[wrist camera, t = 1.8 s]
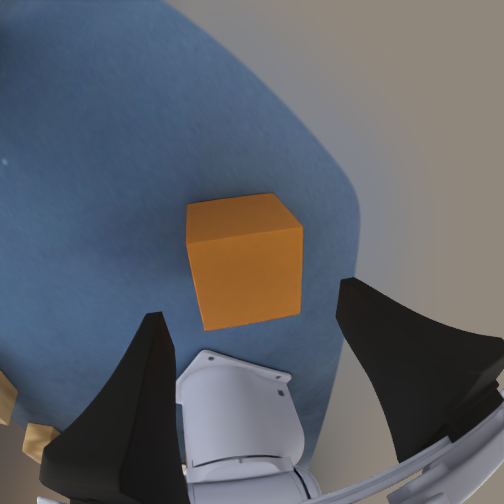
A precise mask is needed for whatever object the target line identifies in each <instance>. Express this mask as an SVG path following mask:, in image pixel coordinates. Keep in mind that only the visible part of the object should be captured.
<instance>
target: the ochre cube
mask: <svg viewBox="0 0 504 504" xmlns="http://www.w3.org/2000/svg"><path fill="white" fill-rule="evenodd" d="M186 246H187V251H188V256H189V261H190V266H191V271H192V276H193V281H194V285H195V290H196V295H197V299H198V304H199V308H200V312H201V317H202V321H203V325H204V329H205V331H210V330H217V329H223V328H229V327H235V326H240V325H246V324H252V323H257V322H262V321H268V320H273V319H278V318H283V317H288V316H292V315H297V314H300V308H301V287H302V261H303V226H302V225H301V224H300V222H299V221H298V220H297V219H296V218H295V217H294V216H293V214H292V213H291V212H290V211H289V210H288V209H287V208H286V207H285V205H284V204H283V203H282V202H281V201H280V200H279V199H278V198H277V197H276V195H275V194H274V193H265V194H257V195H249V196H241V197H233V198H226V199H219V200H212V201H205V202H198V203H191V204H187V223H186Z"/></svg>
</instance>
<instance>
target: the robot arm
mask: <svg viewBox="0 0 504 504" xmlns="http://www.w3.org/2000/svg"><path fill="white" fill-rule="evenodd" d="M336 319H337V321H338V324H339V326H340V328H341V331H342V333H343V335H344V337H345V339H346V340H347V342H348V344H349V345H350V347H351V349H352V350H353V352H354V354H355V355H356V357H357V359H358V360H359V362H360V363H361V365H362V367H363V368H364V370H365V372H366V373H367V375H368V377H369V379H370V381H371V382H372V385H373V387H374V389H375V392H376V394H377V396H378V399H379V401H380V404H381V406H382V409H383V411H384V414H385V417H386V420H387V423H388V426H389V429H390V432H391V435H392V439H393V443H394V447H395V451H396V455H397V460H398V462H399V464H398V465H396V466H394V467H392V468H390V469H388V470H386V471H384V472H381V473H379V474H377V475H375V476H373V477H370V478H368V479H366V480H363V481H361V482H358V483H356V484H353V485H351V486H348V487H346V488H343V489H340V490H337V491H334V492H331V493H329V494H325V495H322V492H321V489H320V487H319V485H318V483H317V481H316V479H315V478H314V476H313V475H312V474H311V473H310V472H308V471H307V470H305V469H304V468H303V467H301V466H297V465H296V466H294V465H295V464H296V463H297V462H298V461H299V459H300V458H301V456H302V453H303V449H304V433H303V429H302V426H301V424H300V421H299V418H298V415H297V413H296V410H295V407H294V404H293V401H292V399H291V396H290V393H289V390H288V388H287V385H286V383H287V382H289V381H290V380H291V375H290V374H289V373H285V372H281V371H277V370H273V369H269V368H266V367H262V366H258V365H255V364H251V363H248V362H245V361H241V360H238V359H235V358H231V357H228V356H225V355H222V354H219V353H216V352H213V351H210V350H202V351H201V352H200V353H199V354H198V355H197V356H196V358H195V359H194V360H193V361H192V362H191V364H190V365H189V366H188V367H187V369H186V370H185V371H184V372H183V373H182V375H181V376H180V377H179V378H178V379H177V381H176V360H175V348H174V345H173V342H172V339H171V337H170V334H169V331H168V328H167V325H166V323H165V320H164V317H163V314H162V311H161V312H154V313H147V314H146V315H145V317H144V319H143V321H142V323H141V325H140V327H139V329H138V330H137V332H136V334H135V336H134V338H133V340H132V342H131V344H130V345H129V347H128V349H127V351H126V353H125V354H124V356H123V358H122V359H121V361H120V363H119V364H118V366H117V368H116V369H115V371H114V373H113V374H112V376H111V377H110V379H109V380H108V381H107V383H106V384H105V386H104V387H103V388H102V390H101V391H100V392H99V394H98V395H97V396H96V397H95V399H94V400H93V401H92V402H91V403H90V405H89V406H88V407H87V408H86V409H85V410H84V412H83V413H82V414H81V415H80V416H79V417H78V418H77V419H76V420H75V421H74V422H73V423H72V424H71V425H70V426H69V427H68V428H67V429H65V430H64V431H63V432H62V433H61V434H60V435H58V436H57V437H56V438H55V439H54V440H52V441H51V442H50V443H49V444H47V445H46V446H45V447H44V448H43V453H42V460H41V467H40V477H39V480H40V482H41V483H42V484H43V485H44V486H46V487H48V488H49V489H51V490H53V491H55V492H57V493H59V494H61V495H63V496H65V497H67V498H69V499H70V504H352V503H355V502H357V501H360V500H362V499H364V498H367V497H369V496H371V495H374V494H376V493H378V492H380V491H382V490H384V489H387V488H388V487H391V486H393V485H395V484H397V483H399V482H400V481H402V480H404V479H406V478H408V477H410V476H411V475H413V474H415V473H417V472H419V471H420V470H422V469H423V471H422V475H420V476H418V477H417V478H415V479H414V480H412V481H410V482H408V483H406V484H405V485H404V486H402V487H401V488H399V489H398V490H396V491H394V492H392V493H390V494H388V495H387V499H388V501H389V504H462V503H463V502H464V501H465V500H466V499H468V498H469V497H470V496H471V495H472V494H473V493H474V492H475V491H476V490H477V489H478V488H479V487H480V486H481V485H482V484H483V483H484V482H485V481H486V480H487V479H488V478H489V477H490V476H491V475H492V474H493V473H494V472H495V471H496V470H497V468H498V467H499V466H500V465H501V464H502V463H503V462H504V388H503V390H502V391H501V392H500V393H499V392H498V390H497V388H498V386H499V383H498V382H497V381H496V378H497V377H498V375H500V373H501V372H502V370H503V369H504V340H503V339H502V338H499V337H492V336H485V335H479V334H475V333H471V332H467V331H463V330H459V329H456V328H453V327H450V326H447V325H444V324H442V323H439V322H436V321H434V320H432V319H429V318H427V317H425V316H423V315H420V314H418V313H416V312H414V311H412V310H410V309H408V308H407V307H405V306H403V305H401V304H399V303H397V302H396V301H394V300H392V299H390V298H389V297H387V296H385V295H384V294H382V293H380V292H379V291H377V290H375V289H374V288H372V287H370V286H369V285H367V284H365V283H364V282H362V281H360V280H358V279H356V278H355V277H351V278H347V279H342V280H341V282H340V290H339V297H338V304H337V310H336ZM176 403H178V404H182V410H183V424H184V436H185V447H186V456H187V465H188V468H186V469H185V470H186V478H187V483H186V480H185V478H184V474H183V469H182V463H181V458H180V452H179V445H178V438H177V430H176ZM37 504H65V503H61V502H57V501H54V500H50V499H47V498H43V497H40V496H39V497H37Z"/></svg>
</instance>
